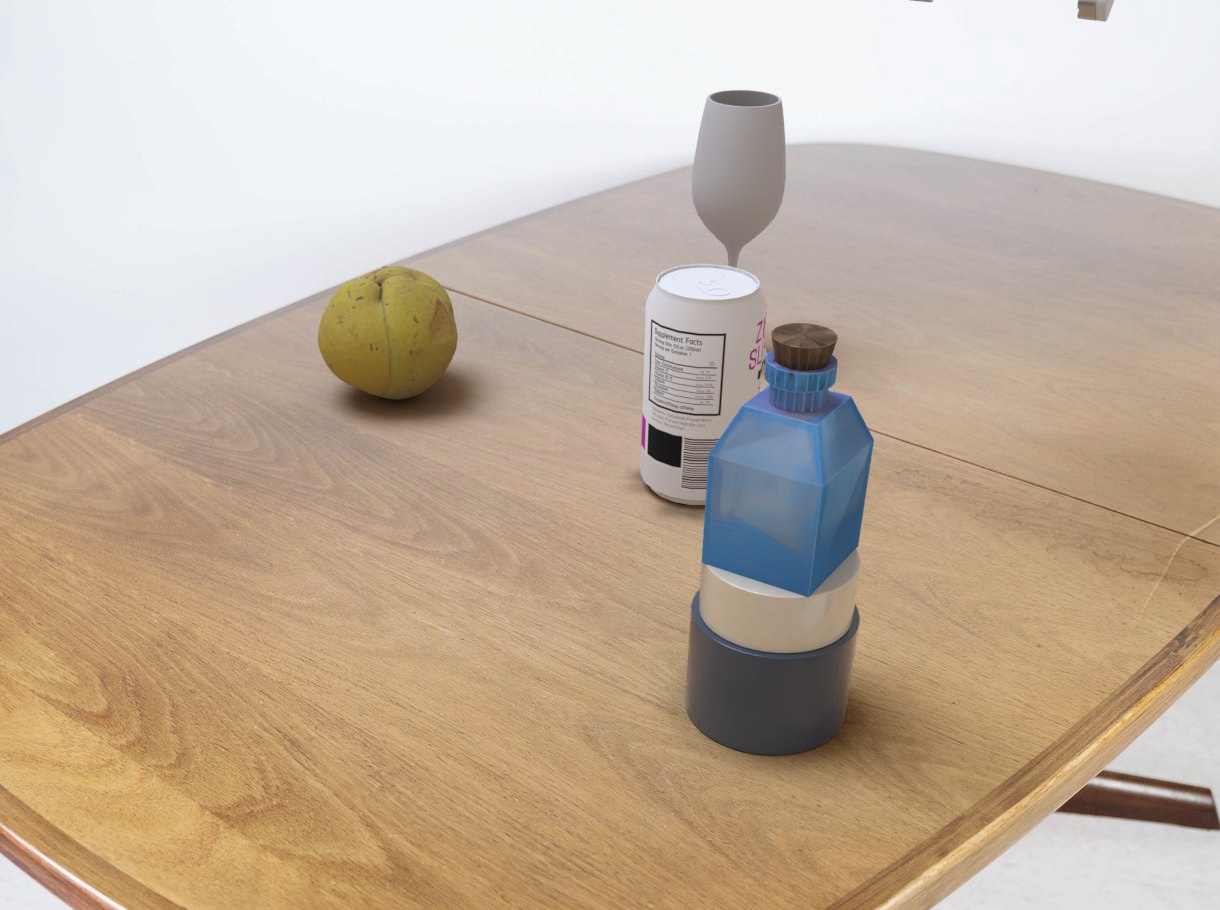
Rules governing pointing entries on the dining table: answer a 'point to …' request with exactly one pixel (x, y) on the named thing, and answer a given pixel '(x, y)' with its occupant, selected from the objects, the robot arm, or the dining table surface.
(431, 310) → the fruit
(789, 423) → the perfume bottle
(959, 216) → the dining table surface
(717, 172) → the wineglass
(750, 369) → the supplement can
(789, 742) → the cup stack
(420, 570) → the dining table surface
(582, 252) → the dining table surface
